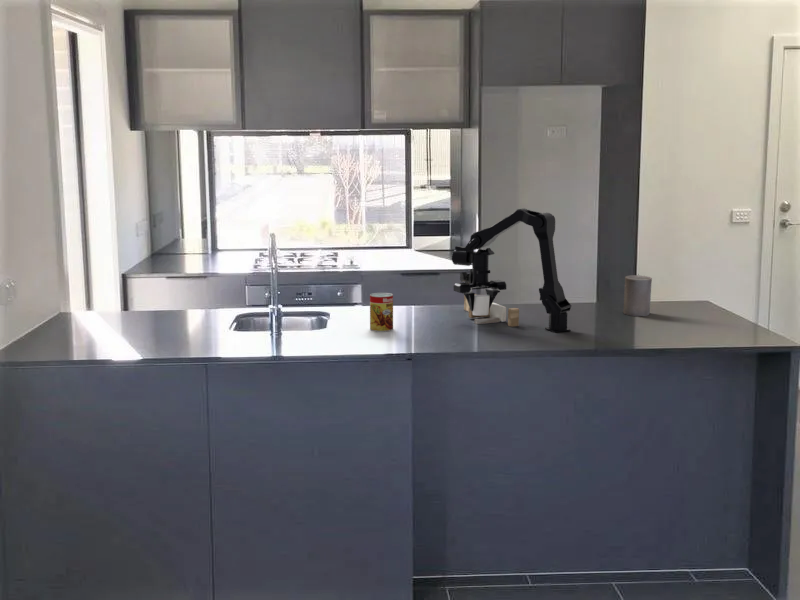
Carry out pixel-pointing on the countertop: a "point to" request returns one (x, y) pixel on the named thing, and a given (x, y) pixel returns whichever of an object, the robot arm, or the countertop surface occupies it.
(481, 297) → the white grey-rimmed cylinder
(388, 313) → the canned food
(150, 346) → the countertop surface
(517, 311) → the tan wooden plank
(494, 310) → the sliding door
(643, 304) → the pillar candle
